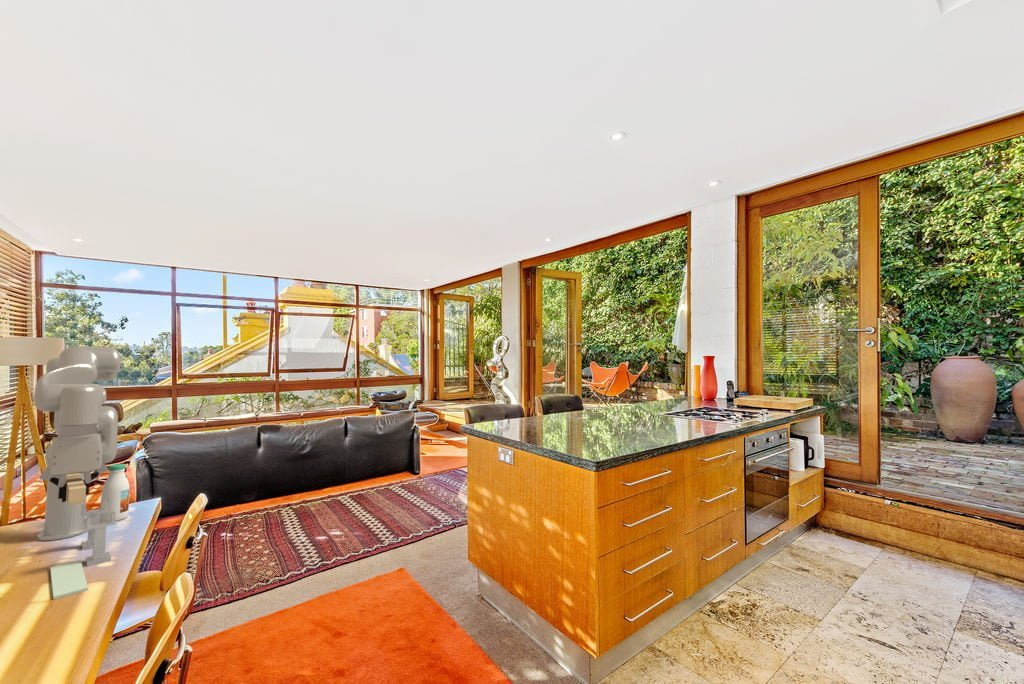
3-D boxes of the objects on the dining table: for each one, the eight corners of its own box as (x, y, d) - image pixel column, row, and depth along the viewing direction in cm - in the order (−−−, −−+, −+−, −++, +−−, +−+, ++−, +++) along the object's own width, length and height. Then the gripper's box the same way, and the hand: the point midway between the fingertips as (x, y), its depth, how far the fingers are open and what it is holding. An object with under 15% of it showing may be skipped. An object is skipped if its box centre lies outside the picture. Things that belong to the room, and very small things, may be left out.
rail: (63, 489, 122) (64, 474, 122) (78, 486, 124) (79, 472, 124) (68, 505, 107) (69, 489, 107) (85, 503, 109) (86, 487, 110)
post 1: (78, 546, 135) (81, 503, 136) (104, 540, 140) (107, 499, 140) (80, 550, 132) (82, 507, 133) (106, 544, 136) (109, 502, 137)
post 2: (83, 561, 125) (86, 515, 125) (111, 554, 129) (113, 510, 130) (84, 566, 121) (87, 519, 122) (113, 559, 126) (115, 514, 127)
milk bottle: (110, 523, 154) (114, 467, 155) (93, 522, 156) (97, 466, 157) (133, 516, 162) (136, 463, 163) (117, 515, 163) (120, 462, 164)
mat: (50, 569, 120) (50, 567, 120) (80, 562, 124) (80, 560, 124) (53, 599, 105) (53, 596, 105) (87, 589, 109) (87, 587, 109)
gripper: (116, 426, 125) (112, 490, 124) (32, 432, 113) (27, 503, 112) (120, 429, 120) (116, 495, 119) (33, 435, 108) (27, 510, 107)
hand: (73, 498), depth 116 cm, fingers closed on rail, 3 cm apart
